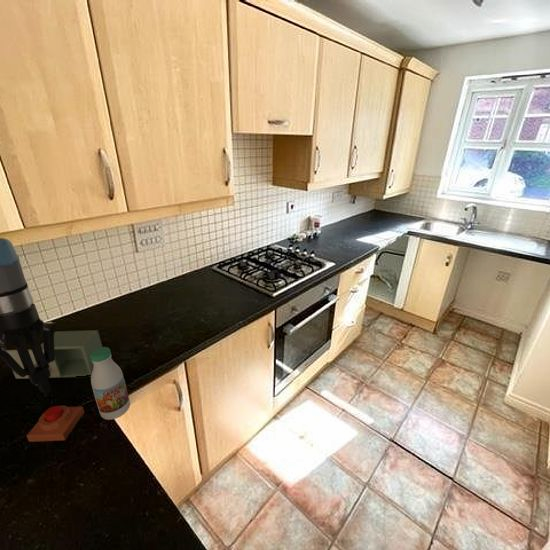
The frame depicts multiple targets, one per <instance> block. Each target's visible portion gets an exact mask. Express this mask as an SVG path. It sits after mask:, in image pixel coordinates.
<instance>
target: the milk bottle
mask: <svg viewBox="0 0 550 550" xmlns="http://www.w3.org/2000/svg"><path fill="white" fill-rule="evenodd" d="M90 357H91V360H92V363H93V364H94V366H93V371H92V375H91V376H90V383H91V388H92V392H93V395H94V399H95V402H96V406H97V409H98V413H99V415H100V417H101V418H102V419H104V420H109V421H111V420H116V419H119V418H121V417H122V416H123V415H125V414H126V413H127V412H128V410H129V409H130V407H131V401H130V396H129V393H128V389H127V384H126V380H125V377H124V374H123V371H122V369H121V367H120V366H119V365H118V364H117V363H116V362H115V361H114V360H113V358H112V352H111V349H110V348H109V347H108V346H102V347H100V348H97V349H95V350H93V351H92V352H91V354H90Z"/></svg>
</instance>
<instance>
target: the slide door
mask: <svg viewBox="0 0 550 550" xmlns="http://www.w3.org/2000/svg"><path fill="white" fill-rule="evenodd" d="M42 350H43V353H44V349H42ZM28 351H29V354H30V356H31V359H32V361H33V364H34V367H35V368H36V367H39V366H38V365H37V363H36V360H35V358H34V355H33V353H32V350H31V348H30V349H29V348H28ZM6 352H7V353H9V354H10V355H11V356H12V357H13V359H14V360H15V361H16V362H17V363H18V364H19V365H20V366H21V367H22V368H23V369H24V367H23V364H22V362H21V359H20V357H19V354H18V352H17V349H6ZM48 365H49V368H48V369H49V372H50V374H51V375H50V377H59V378H62V377H61V376H62V375H61V372H60V369H59V366H58V363H57V360H56V358H55V360H54V361H53V362H50V363H49V364H48ZM11 370H12V369H11ZM12 373H13V375H14V378H15V379H16V380H18V379H19V380H20V379H29V377H28V375H26V376H25V377H21V376H19V375H17V374H16V373H15V372H14V371H13V370H12ZM50 377H49V378H48V379H51V378H50Z"/></svg>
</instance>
